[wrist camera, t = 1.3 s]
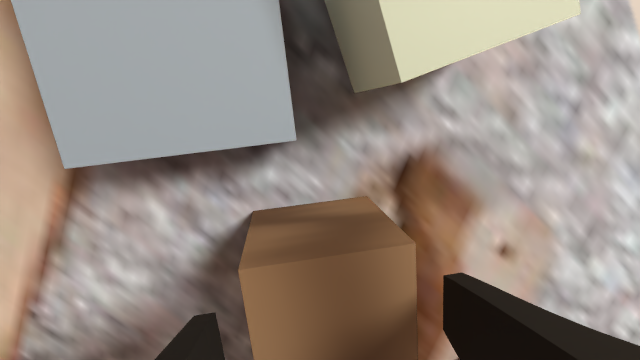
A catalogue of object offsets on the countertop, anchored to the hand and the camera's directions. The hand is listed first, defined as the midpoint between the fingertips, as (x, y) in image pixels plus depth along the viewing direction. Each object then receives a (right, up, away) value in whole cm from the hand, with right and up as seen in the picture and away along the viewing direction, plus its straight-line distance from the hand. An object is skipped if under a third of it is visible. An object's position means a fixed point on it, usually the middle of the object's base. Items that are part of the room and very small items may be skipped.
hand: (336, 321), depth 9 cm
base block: (-5, +9, +2) cm, 11 cm away
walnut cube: (-1, +1, +4) cm, 5 cm away
